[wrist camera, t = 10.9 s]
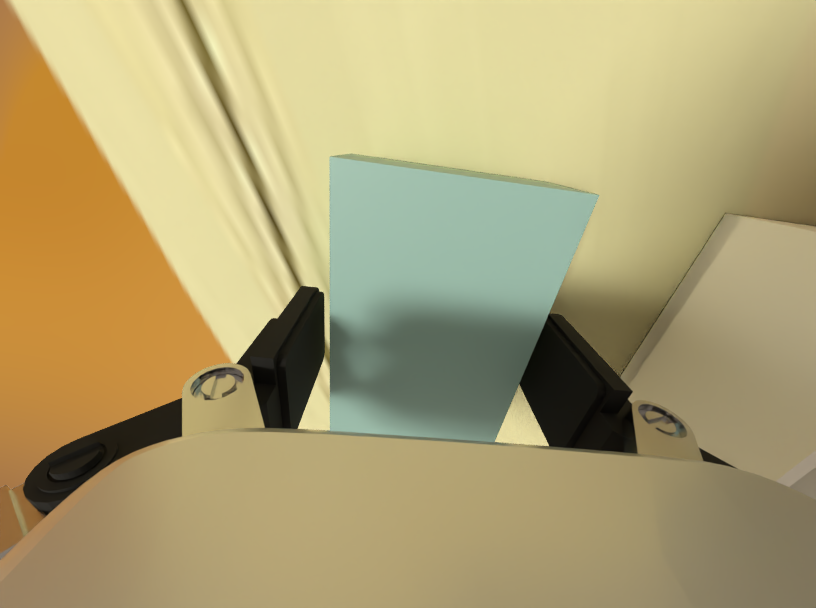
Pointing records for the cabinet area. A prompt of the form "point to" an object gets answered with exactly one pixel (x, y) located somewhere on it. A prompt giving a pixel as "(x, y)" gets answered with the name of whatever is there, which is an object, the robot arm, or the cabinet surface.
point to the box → (742, 350)
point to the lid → (439, 292)
